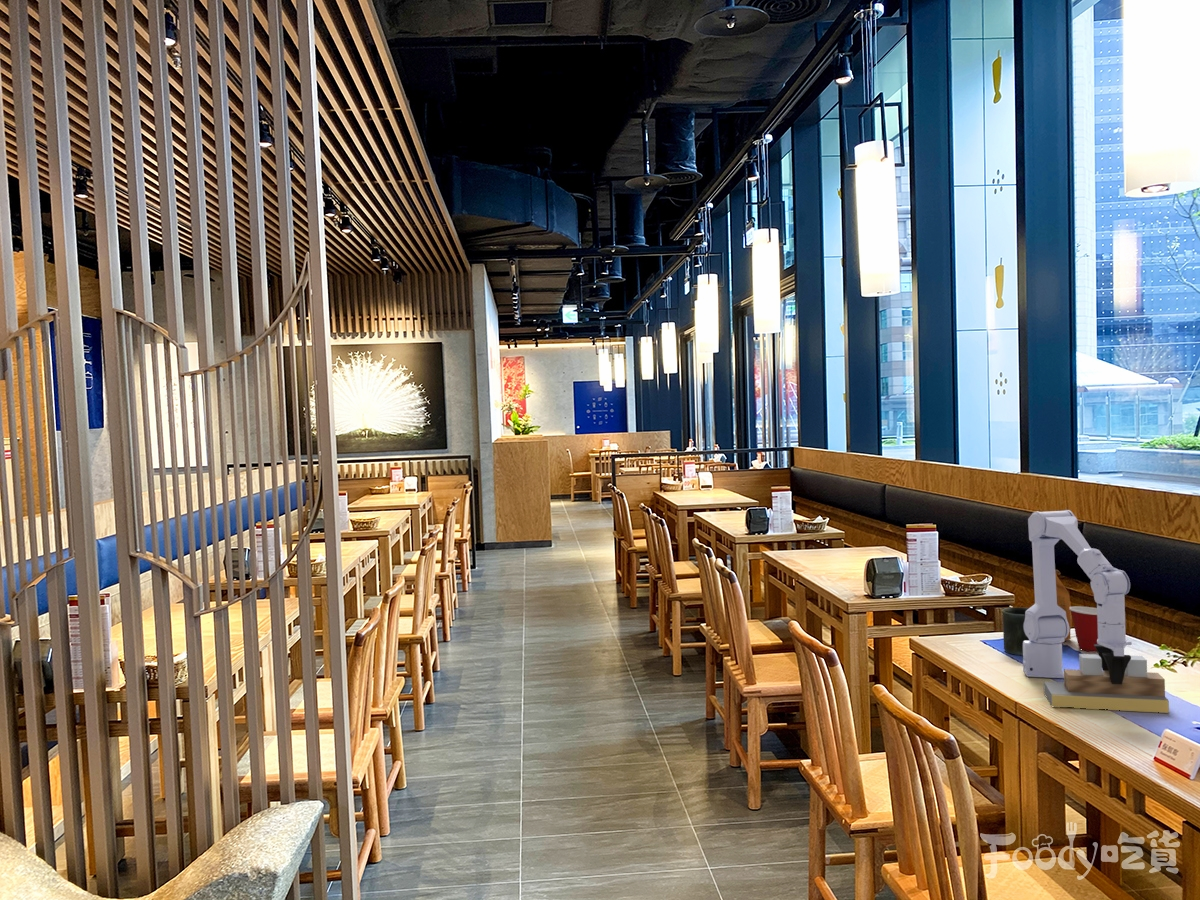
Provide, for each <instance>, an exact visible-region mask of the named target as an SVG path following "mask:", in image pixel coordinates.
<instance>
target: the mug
mask: <svg viewBox="0 0 1200 900" xmlns="http://www.w3.org/2000/svg"><path fill="white" fill-rule="evenodd" d="M1029 608H1030V607H1022V606H1021V607H1019V606H1017V607H1016V606H1015V607H1005V608H1002V609H1001V610H1000V611H1001V612H1000V613H1002V625H1003V626H1002V631H1003V635H1002V637H1003V649H1004V651H1005V652H1006V653H1008V654H1010V655H1011V654H1012V655H1016V656H1017V655H1018V656H1023V641H1027V640H1029V638H1028V637H1027V636H1026V634H1025V632H1024V621H1025V611H1026V610H1028V609H1029Z"/></svg>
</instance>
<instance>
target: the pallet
mask: <svg viewBox="0 0 1200 900" xmlns="http://www.w3.org/2000/svg"><path fill="white" fill-rule="evenodd" d="M1063 672H1064V678H1063V682H1064V686H1065V687H1066V689H1068V692H1079V693H1100V694H1122V695H1143V696H1165V697H1166V683H1165V682H1166V680H1165V678H1164V677H1163V676H1162V675H1161V674H1160V673H1159V672H1152V671H1150V672H1148V671H1147V677H1128V676H1127V675H1126V674H1124V678H1123V682H1122V684H1112V683H1111V680H1110V676H1109V671H1103V670H1102V676H1099V675H1083V674H1082V673H1081V672H1080V670H1079V669H1074V668H1072V669H1069V668H1063Z"/></svg>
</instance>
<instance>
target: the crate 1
mask: <svg viewBox="0 0 1200 900" xmlns="http://www.w3.org/2000/svg"><path fill="white" fill-rule="evenodd" d="M1078 661H1079V662H1078V663H1079V666H1078V667H1079V669H1078V670H1080V672H1081V673H1082V674H1083V675H1099V676H1102V671H1103V670H1102V659H1101V658H1100V656H1099V655H1098V653H1097V654H1092V653H1091V654H1090V653H1089V654H1087V653H1079V654H1078Z"/></svg>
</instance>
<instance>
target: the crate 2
mask: <svg viewBox="0 0 1200 900" xmlns="http://www.w3.org/2000/svg"><path fill="white" fill-rule="evenodd" d="M1130 656H1131V660H1130V661H1129V663H1128V665H1127V667H1126V670H1125V674H1126V675H1127V676H1128V677H1147V672H1148V660H1147V659H1146V658H1145V657H1144V656H1143V655H1130Z"/></svg>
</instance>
